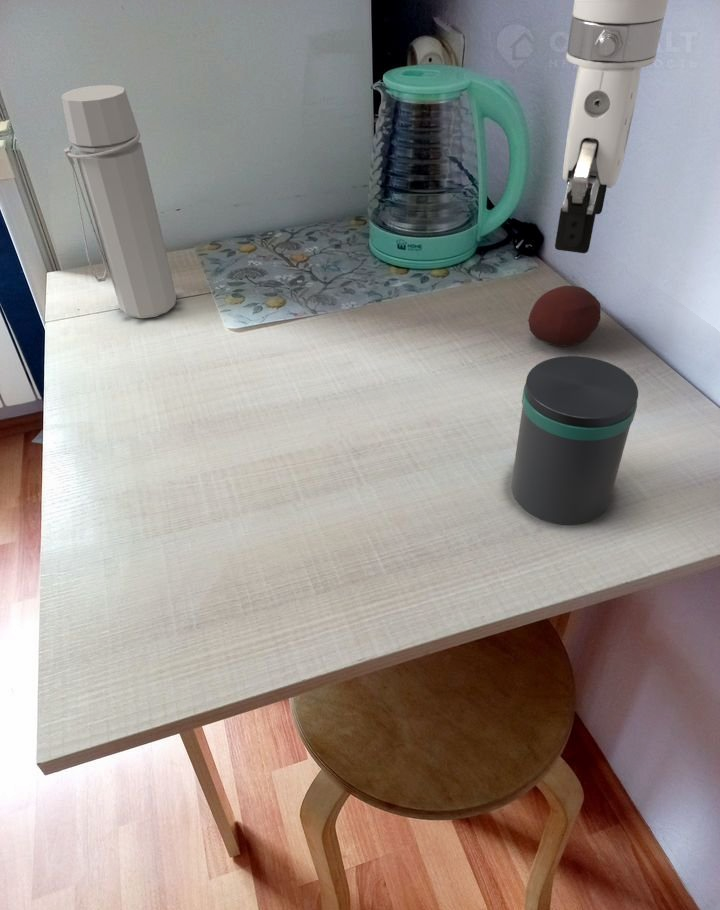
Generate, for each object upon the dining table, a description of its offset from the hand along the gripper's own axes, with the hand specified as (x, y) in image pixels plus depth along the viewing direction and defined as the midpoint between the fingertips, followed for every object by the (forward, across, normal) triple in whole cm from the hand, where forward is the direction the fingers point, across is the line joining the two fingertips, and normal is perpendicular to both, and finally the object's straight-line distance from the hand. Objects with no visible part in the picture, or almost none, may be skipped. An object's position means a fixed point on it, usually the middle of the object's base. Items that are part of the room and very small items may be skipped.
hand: (579, 230), depth 72 cm
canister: (+12, -25, -4) cm, 29 cm away
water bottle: (+13, -9, +51) cm, 53 cm away
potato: (+13, 0, 0) cm, 13 cm away
